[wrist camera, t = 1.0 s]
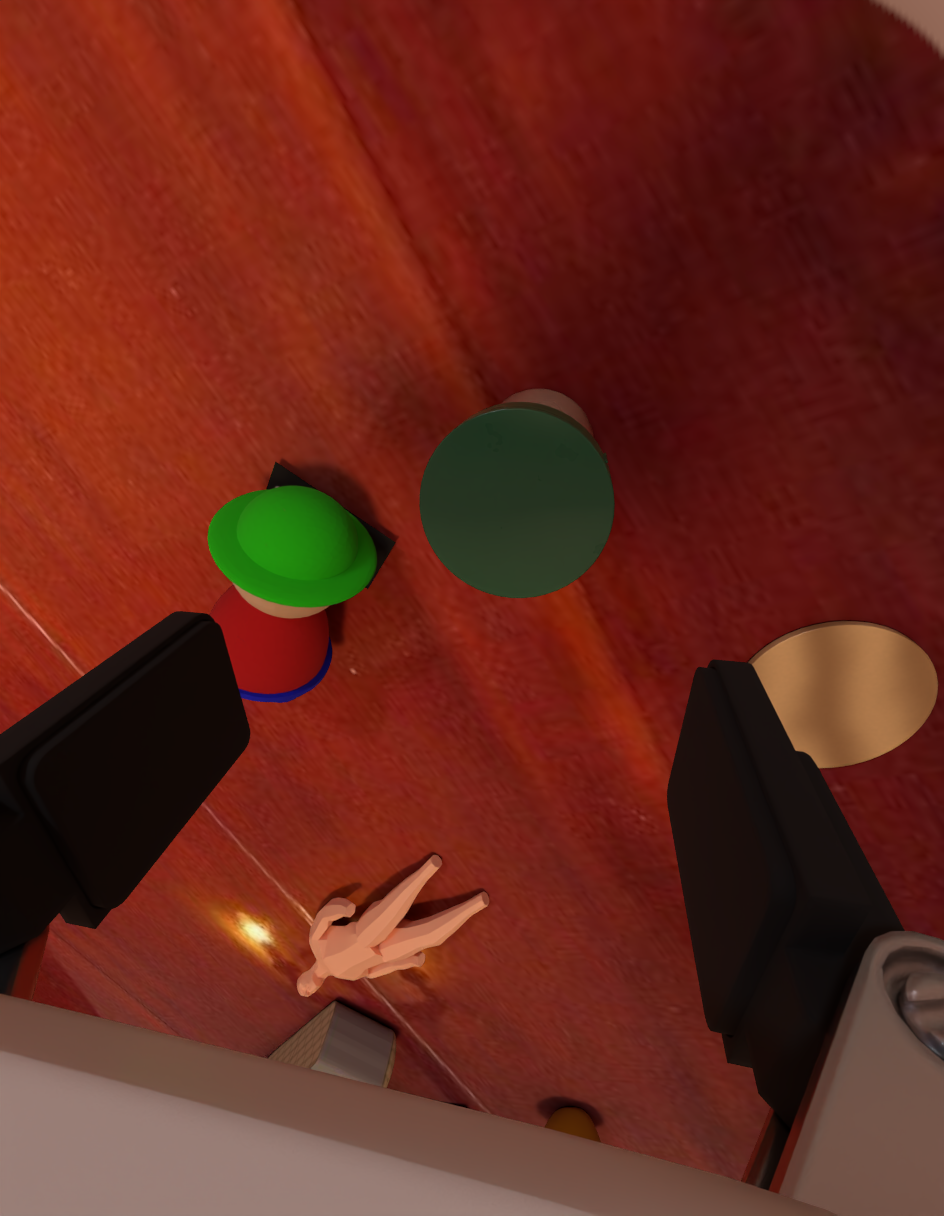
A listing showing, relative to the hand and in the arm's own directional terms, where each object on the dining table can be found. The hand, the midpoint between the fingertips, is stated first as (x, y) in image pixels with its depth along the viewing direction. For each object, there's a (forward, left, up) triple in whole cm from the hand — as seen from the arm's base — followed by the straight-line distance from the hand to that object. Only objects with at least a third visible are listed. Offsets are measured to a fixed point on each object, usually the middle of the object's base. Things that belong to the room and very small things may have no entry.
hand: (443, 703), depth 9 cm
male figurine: (+35, +34, -22) cm, 54 cm away
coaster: (-9, +22, -22) cm, 32 cm away
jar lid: (0, 0, -11) cm, 11 cm away
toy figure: (+17, 0, -22) cm, 28 cm away
